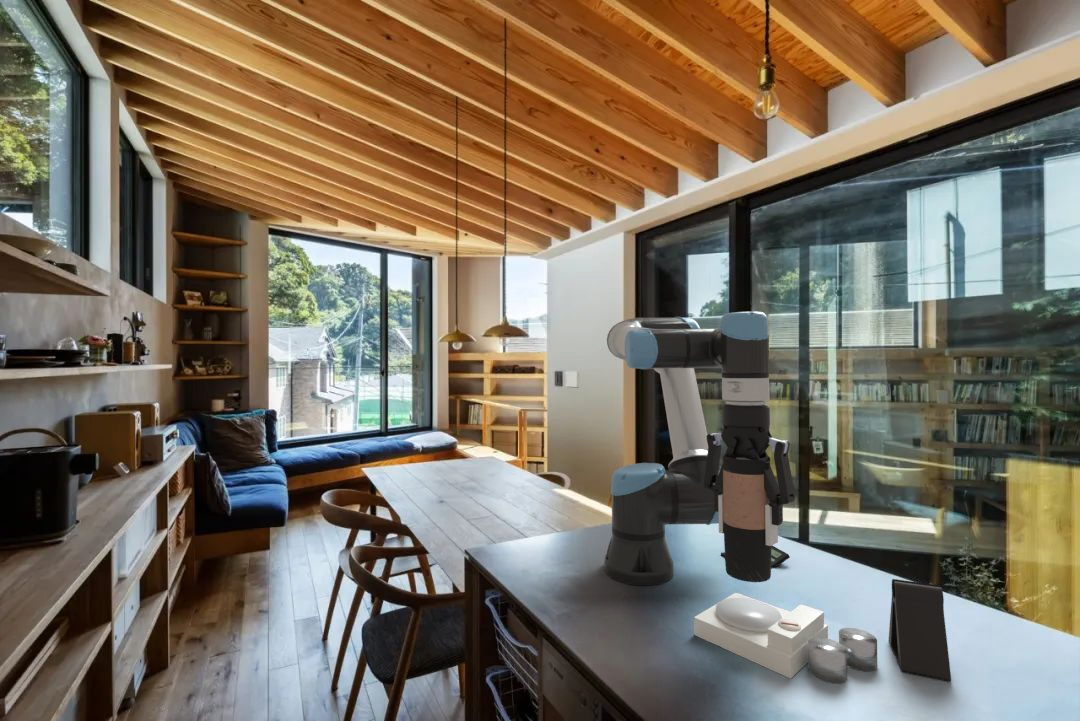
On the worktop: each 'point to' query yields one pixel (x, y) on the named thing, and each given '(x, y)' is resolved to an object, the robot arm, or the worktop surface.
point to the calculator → (774, 556)
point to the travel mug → (745, 519)
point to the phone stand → (919, 629)
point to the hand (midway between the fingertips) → (747, 537)
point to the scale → (762, 631)
